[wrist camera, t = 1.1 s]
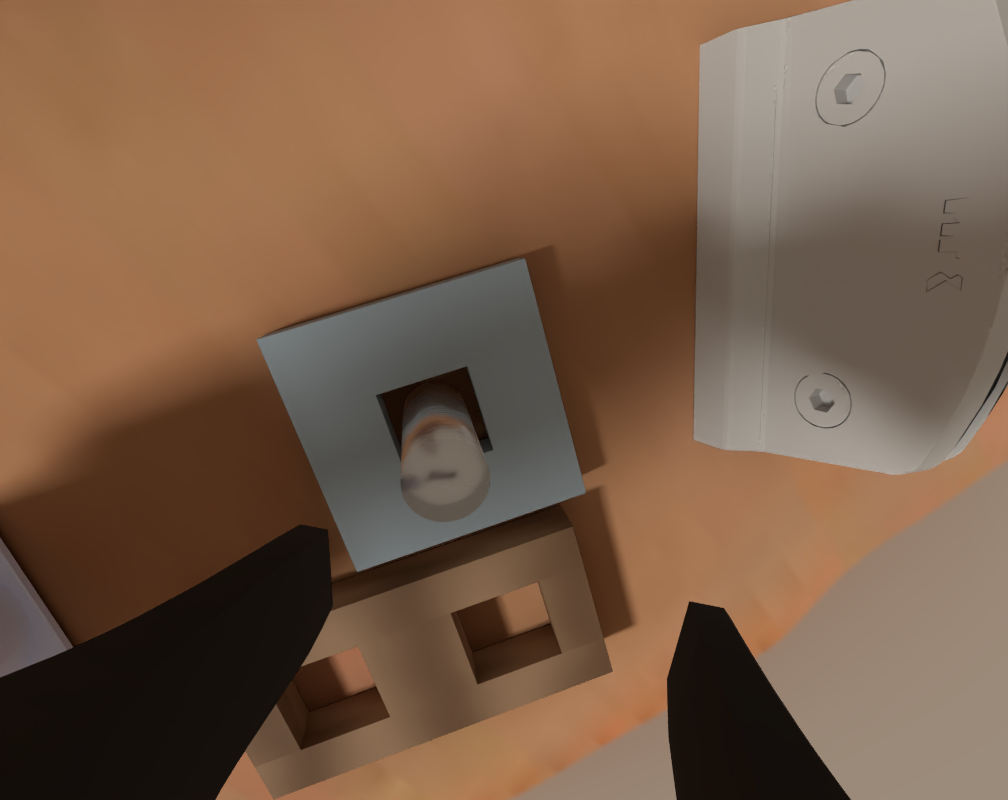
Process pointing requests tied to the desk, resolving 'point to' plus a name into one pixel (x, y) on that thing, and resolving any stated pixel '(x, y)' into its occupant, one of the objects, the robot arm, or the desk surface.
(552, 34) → the desk surface
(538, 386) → the socket block
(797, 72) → the grey arched plastic casing
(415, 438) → the peg
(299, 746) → the rack
